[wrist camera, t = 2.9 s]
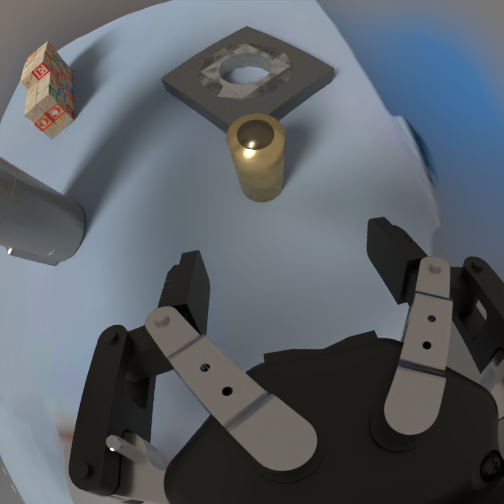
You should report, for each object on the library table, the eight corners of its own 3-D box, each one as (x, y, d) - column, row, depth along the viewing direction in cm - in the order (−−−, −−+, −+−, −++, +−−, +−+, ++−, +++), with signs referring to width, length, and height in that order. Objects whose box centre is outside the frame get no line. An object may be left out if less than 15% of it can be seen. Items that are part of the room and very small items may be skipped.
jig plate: (245, 148, 33) (242, 135, 30) (167, 90, 36) (160, 78, 34) (331, 81, 34) (333, 68, 31) (248, 38, 38) (246, 26, 35)
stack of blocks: (75, 120, 38) (38, 83, 26) (51, 140, 38) (13, 108, 26) (72, 70, 42) (47, 40, 30) (52, 86, 42) (26, 58, 30)
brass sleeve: (262, 210, 31) (255, 169, 21) (232, 183, 32) (214, 136, 22) (292, 182, 32) (296, 132, 22) (262, 157, 33) (255, 103, 23)
